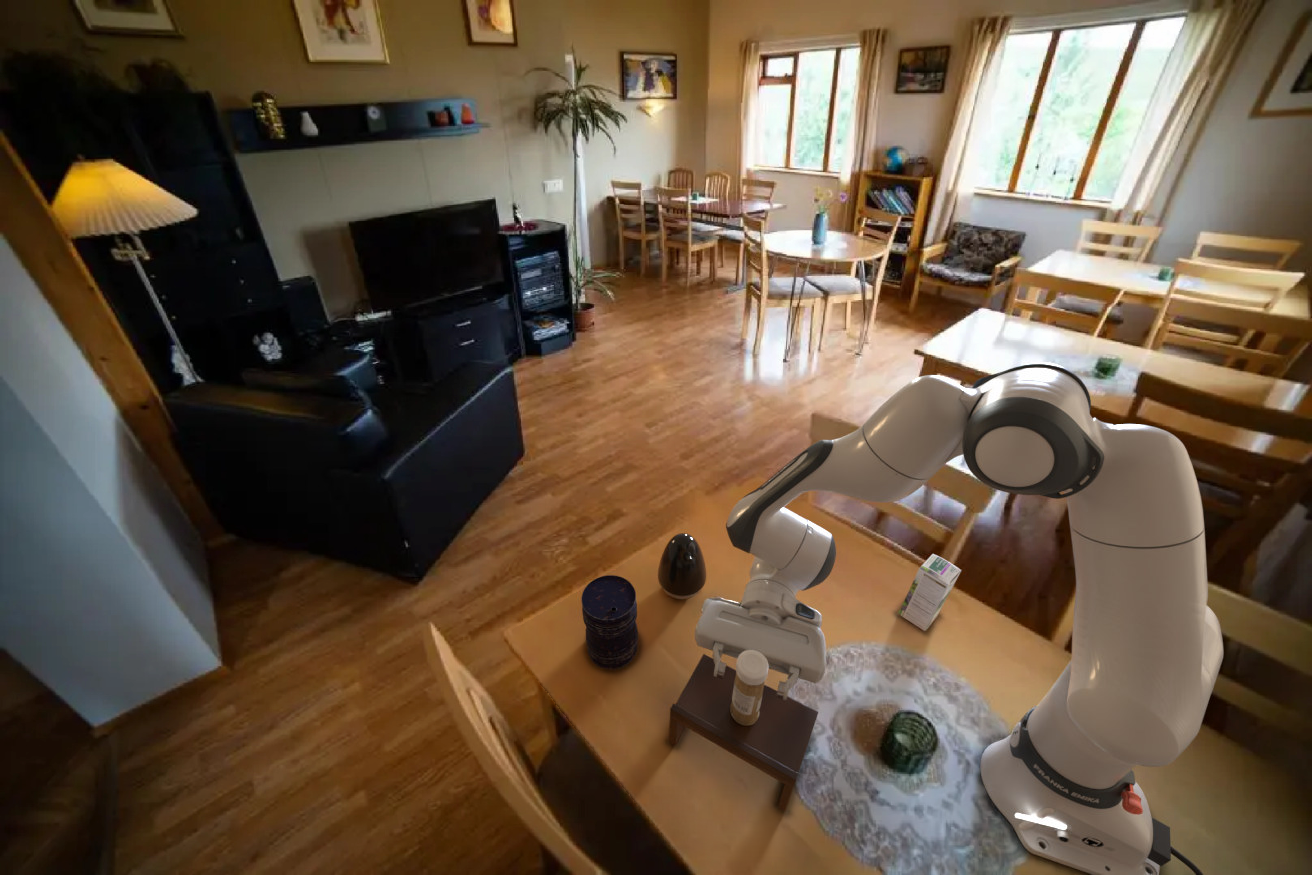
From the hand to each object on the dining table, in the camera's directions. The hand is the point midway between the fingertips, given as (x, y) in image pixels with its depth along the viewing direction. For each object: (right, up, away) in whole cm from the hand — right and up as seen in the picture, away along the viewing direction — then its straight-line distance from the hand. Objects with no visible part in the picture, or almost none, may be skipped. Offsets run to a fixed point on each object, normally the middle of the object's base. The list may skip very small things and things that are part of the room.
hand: (749, 685), depth 78 cm
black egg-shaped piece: (-8, +4, +36) cm, 37 cm away
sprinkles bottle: (0, -7, +5) cm, 8 cm away
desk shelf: (0, -14, +10) cm, 17 cm away
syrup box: (+40, 0, +30) cm, 50 cm away
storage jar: (-22, -4, +25) cm, 33 cm away
